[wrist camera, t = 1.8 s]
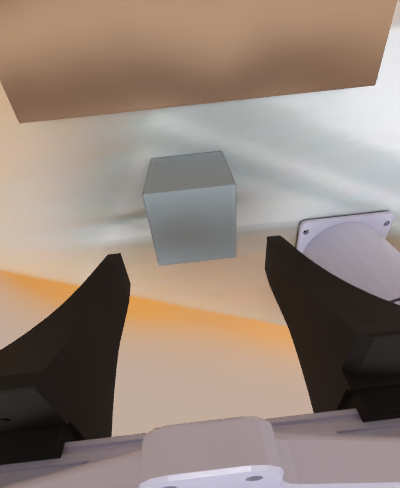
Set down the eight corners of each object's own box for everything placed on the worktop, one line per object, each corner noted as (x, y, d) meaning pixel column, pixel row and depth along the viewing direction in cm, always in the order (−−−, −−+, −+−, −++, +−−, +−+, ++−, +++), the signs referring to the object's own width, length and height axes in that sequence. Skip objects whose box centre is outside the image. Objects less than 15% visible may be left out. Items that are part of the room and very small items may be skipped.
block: (223, 211, 22) (236, 257, 17) (163, 218, 22) (158, 265, 17) (220, 150, 19) (235, 184, 14) (151, 158, 19) (142, 194, 14)
